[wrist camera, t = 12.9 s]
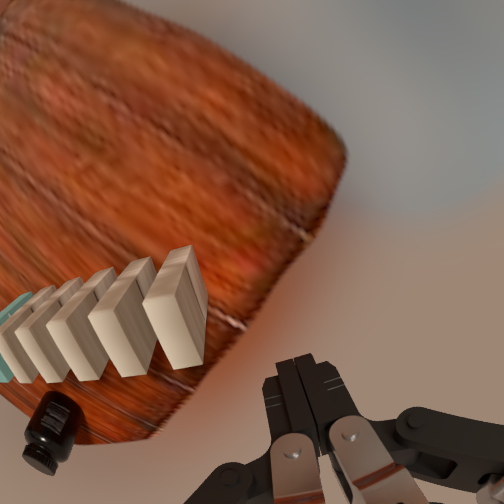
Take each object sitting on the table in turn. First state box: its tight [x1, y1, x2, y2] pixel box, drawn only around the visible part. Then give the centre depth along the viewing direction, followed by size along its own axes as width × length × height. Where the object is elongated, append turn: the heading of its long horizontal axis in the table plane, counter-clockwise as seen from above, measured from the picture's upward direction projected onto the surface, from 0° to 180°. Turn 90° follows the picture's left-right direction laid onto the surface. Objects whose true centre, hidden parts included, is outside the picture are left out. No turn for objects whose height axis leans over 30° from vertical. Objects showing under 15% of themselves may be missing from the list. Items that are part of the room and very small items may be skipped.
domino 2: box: [0, 285, 56, 383], centre depth 20 cm, size 2×5×10 cm, turn 14°
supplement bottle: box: [22, 391, 83, 476], centre depth 24 cm, size 7×7×12 cm
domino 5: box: [88, 257, 158, 377], centre depth 20 cm, size 2×5×10 cm, turn 14°
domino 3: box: [15, 277, 84, 383], centre depth 20 cm, size 2×5×10 cm, turn 15°
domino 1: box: [0, 292, 33, 382], centre depth 20 cm, size 2×5×10 cm, turn 14°
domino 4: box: [46, 267, 117, 381], centre depth 20 cm, size 2×5×10 cm, turn 14°
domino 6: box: [142, 245, 208, 370], centre depth 20 cm, size 2×5×10 cm, turn 14°
